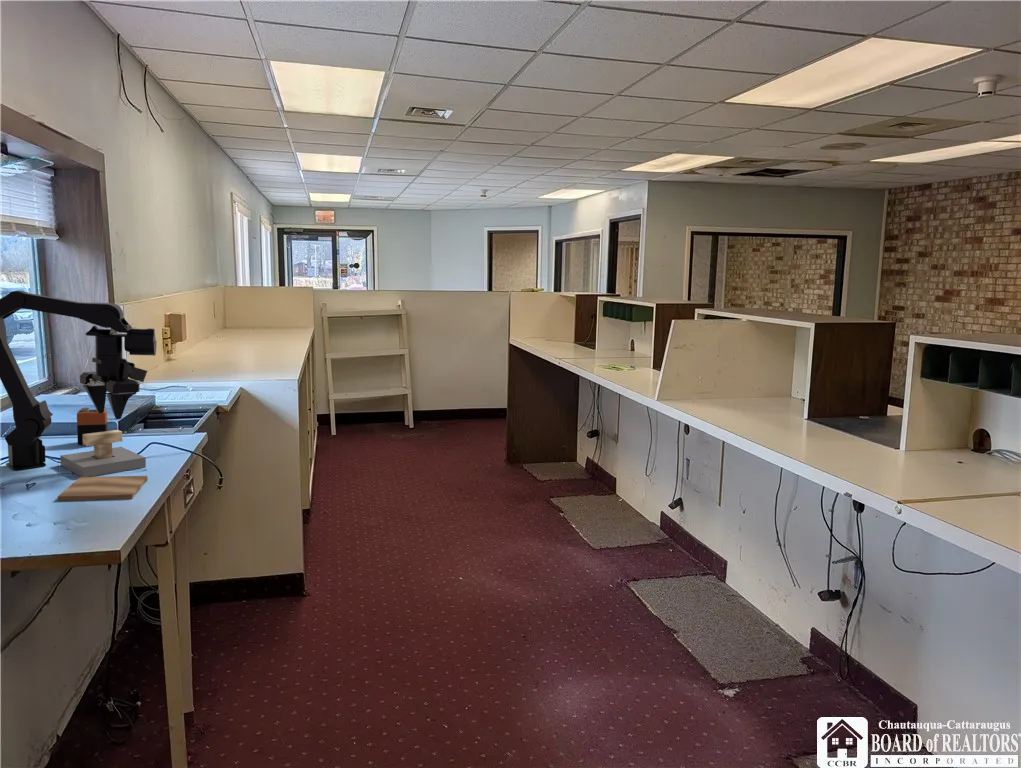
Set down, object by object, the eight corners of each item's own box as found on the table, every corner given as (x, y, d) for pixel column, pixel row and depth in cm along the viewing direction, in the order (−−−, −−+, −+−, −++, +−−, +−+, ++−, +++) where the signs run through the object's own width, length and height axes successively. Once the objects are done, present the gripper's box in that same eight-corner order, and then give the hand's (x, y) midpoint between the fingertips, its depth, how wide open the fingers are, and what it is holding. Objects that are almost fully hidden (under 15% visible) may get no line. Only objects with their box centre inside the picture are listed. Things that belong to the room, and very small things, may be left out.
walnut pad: (132, 498, 145) (132, 494, 145) (58, 500, 141) (57, 496, 141) (147, 479, 158) (147, 475, 158) (80, 481, 154) (79, 477, 154)
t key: (88, 470, 162) (87, 436, 161) (83, 467, 164) (82, 434, 163) (123, 464, 169) (122, 431, 167) (118, 462, 170) (117, 429, 169)
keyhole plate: (83, 477, 157) (83, 467, 156) (60, 465, 165) (60, 455, 165) (145, 467, 168) (145, 457, 167) (121, 455, 176) (121, 446, 176)
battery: (79, 441, 187) (78, 406, 186) (107, 440, 190) (107, 406, 189) (77, 445, 184) (76, 409, 182) (106, 444, 186) (105, 409, 185)
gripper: (161, 357, 167) (160, 418, 169) (124, 349, 177) (125, 406, 180) (113, 359, 158) (114, 424, 160) (78, 350, 168) (79, 411, 171)
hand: (109, 416), depth 168 cm, fingers open, 9 cm apart
